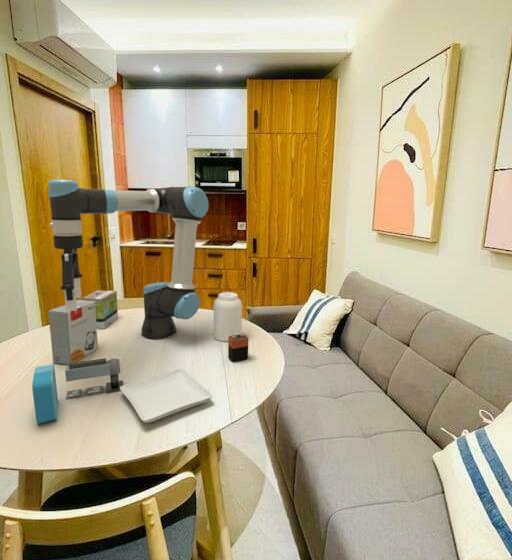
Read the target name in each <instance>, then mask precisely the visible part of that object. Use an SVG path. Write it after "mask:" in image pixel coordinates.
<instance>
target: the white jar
mask: <svg viewBox="0 0 512 560" xmlns="http://www.w3.org/2000/svg"><path fill="white" fill-rule="evenodd" d="M242 303H243V302H242V300H241V299H240V298H239V295H238V293H236V292H233V291H223V292H220V293H218V295H217V298H216V299H214V302H213V315H212V316H213V325H212V326H213V329H212V330H213V331H212V332H213V335H212V336H213V338H214V339H215V340H217V341H220V342H228V337H229V336H232V335H240V333H242V330H243V329H242V328H243V327H242V323H243V322H242V321H243V317H242V316H243V304H242Z"/></svg>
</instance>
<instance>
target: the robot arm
mask: <svg viewBox="0 0 512 560" xmlns="http://www.w3.org/2000/svg"><path fill="white" fill-rule="evenodd" d="M47 196H48V201H49V208H50V217H51V222H50V223H49V226H50V227H52V233H53V234H54V235H53V236H52V237H53V240H52V241H53V247H54V248H55V249H57V250H62V251H63V253H61V255H60V258H61V273H62V275H61V278H62V279H61V280H62V283H61V284H62V286H60V290H61V291H62V290H63V293H64V295H63V296H64V305H65V306H66V311H76V310H77V305H76V301H77V299H82V288H81V279H80V278H83V273H81V270H80V265H79V259H78V258H79V254H78V249H82V248H83V247H84V242H83V241H84V240H83V235H81V234H82V233H83V226H82V225H83V224H82V215H94V214H95V215H97V214H98V215H99V214H100V215H109V214H114V213H116V212H129V211H130V212H135V211H136V212H137V211H140V212H141V211H147V212H149V213H152V214H153V213H154V214H157V213H158V214H163V215H171V217H172V220H173V222H174V224H175V228H174V239H173V240H174V244H173V253H172V267H171V280H170V282H169V281H160V282H153V283H148V284H146V285H145V286H143V307H144V309H143V310H144V319H143V323H142V325H141V326H142V327H141V329H140V334H141V336H142V337H143V338H144V339H150V340H163V339H167V338H170V337H172V336H174V335H175V334H176V333H177V327H176V324H175V320H174V318H175V319H179V320H189V319H191V318H193V317H194V316H195V314H197V312H198V311H199V308H200V305H201V299H200V297H199V295H198V294H197V293H196V286H195V285H194V283H193V275H194V267H195V266H194V264H195V252H196V242H197V241H196V240H197V231H198V229H197V228H198V225H199V224H201V223H202V218H203V217H205V216H206V215H207V213H208V211H209V199H208V197H207V194H205V191H204V190H203V189H201V188H199V187H197V186H196V187H195V186H168V187H167V186H166V187H160V188H148V189H146V190H123V189H121V190H120V189H119V190H118V189H105V188H104V189H101V188H82V187H80V186H79V183H78V181H76V180H70V179H51V180H49V181H48V195H47ZM173 317H174V318H173Z"/></svg>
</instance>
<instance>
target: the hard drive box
mask: <svg viewBox="0 0 512 560" xmlns="http://www.w3.org/2000/svg"><path fill="white" fill-rule="evenodd" d="M76 305H77V310H76V311H66V306H65V304H64V305H61V306H58V307H55V308H53V309H49V310H48V312H47V313H48V321H49V331H50V341H51V342H50V343H51V352H52V353H51V354H52V364H53V363H54V364H60V365H66V366H69V364H70V363H74V362H80V360H81V359H83V358H85V357H87V356H88V355H89V354H91V353H93V352H94V351H96V350H97V349H99V344H98V329H97V325H96V309H95V301H86V300H82V299H78V300H77V299H76Z"/></svg>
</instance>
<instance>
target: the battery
mask: <svg viewBox="0 0 512 560" xmlns="http://www.w3.org/2000/svg"><path fill="white" fill-rule="evenodd" d="M249 340H250V338H249V337H248V336H247V335H246V333H244V332H241V333H240V335H232V336H229V337H228V343H227V344H228V345H227V354H228V355H227V358H228V359H229V360H230V361H231V363H236V362H240V361H245V360H248V359H249Z"/></svg>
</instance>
